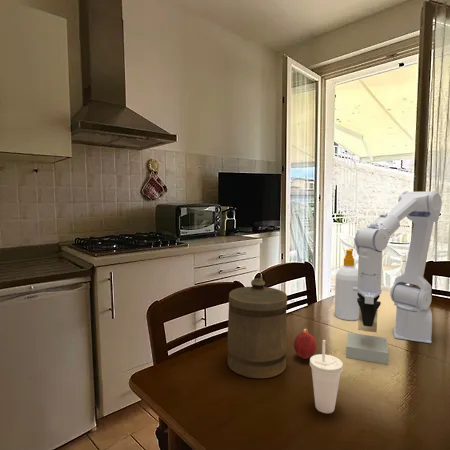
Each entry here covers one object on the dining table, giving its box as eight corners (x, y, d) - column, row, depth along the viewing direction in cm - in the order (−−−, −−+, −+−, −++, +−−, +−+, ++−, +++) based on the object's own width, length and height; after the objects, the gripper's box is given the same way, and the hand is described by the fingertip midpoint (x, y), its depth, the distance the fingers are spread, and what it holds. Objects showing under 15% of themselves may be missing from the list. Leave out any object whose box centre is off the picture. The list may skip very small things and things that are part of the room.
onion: (316, 365, 84) (317, 334, 84) (293, 363, 86) (294, 332, 85) (315, 354, 90) (316, 326, 89) (293, 352, 91) (294, 324, 91)
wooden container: (290, 355, 90) (291, 274, 88) (280, 384, 76) (282, 289, 74) (237, 347, 95) (237, 270, 93) (219, 372, 81) (219, 283, 79)
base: (385, 348, 94) (386, 337, 94) (388, 364, 85) (388, 353, 85) (347, 342, 98) (348, 332, 98) (346, 357, 89) (346, 346, 88)
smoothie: (304, 398, 71) (305, 334, 69) (333, 397, 71) (335, 333, 70) (315, 418, 64) (316, 348, 63) (347, 416, 65) (349, 346, 64)
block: (376, 326, 92) (376, 305, 92) (376, 332, 88) (377, 310, 87) (358, 324, 94) (359, 303, 93) (358, 330, 90) (359, 308, 89)
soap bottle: (362, 314, 121) (365, 249, 119) (357, 322, 113) (360, 252, 111) (338, 310, 126) (340, 247, 124) (331, 317, 118) (333, 250, 116)
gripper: (354, 266, 98) (352, 311, 99) (352, 277, 84) (350, 329, 86) (380, 268, 95) (378, 315, 96) (383, 280, 82) (381, 334, 83)
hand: (367, 322), depth 91 cm, fingers closed on block, 4 cm apart
